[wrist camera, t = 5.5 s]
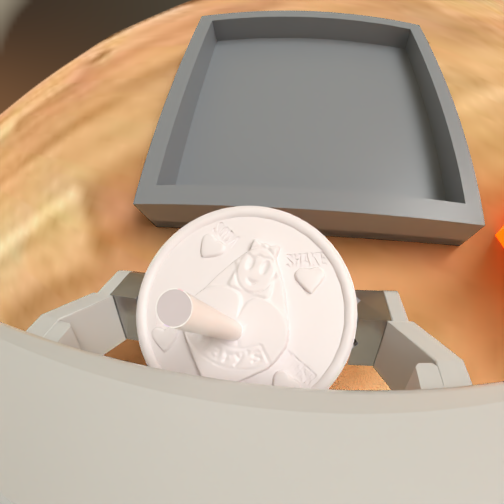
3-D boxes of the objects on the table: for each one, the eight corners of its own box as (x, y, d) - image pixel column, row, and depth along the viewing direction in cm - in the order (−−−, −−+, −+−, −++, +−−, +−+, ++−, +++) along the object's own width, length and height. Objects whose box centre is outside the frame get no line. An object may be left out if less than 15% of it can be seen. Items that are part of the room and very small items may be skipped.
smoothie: (197, 364, 17) (-6, 366, 4) (236, 263, 19) (125, 86, 6) (303, 404, 16) (324, 545, 3) (340, 297, 18) (443, 149, 4)
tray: (156, 226, 21) (133, 204, 17) (209, 43, 26) (202, 16, 23) (459, 245, 17) (485, 225, 14) (412, 52, 23) (419, 25, 20)
